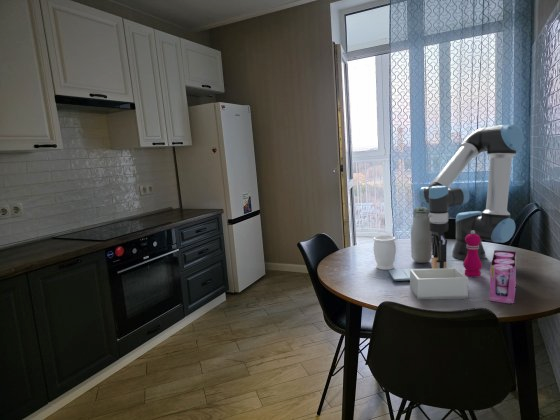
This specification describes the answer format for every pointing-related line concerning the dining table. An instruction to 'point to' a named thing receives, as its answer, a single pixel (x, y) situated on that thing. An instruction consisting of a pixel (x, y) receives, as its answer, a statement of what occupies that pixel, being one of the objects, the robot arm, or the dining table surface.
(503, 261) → the gum box
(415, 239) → the grey rounded cylinder
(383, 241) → the jar
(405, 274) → the lid
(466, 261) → the pepper mill
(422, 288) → the cabinet body
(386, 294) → the dining table surface
